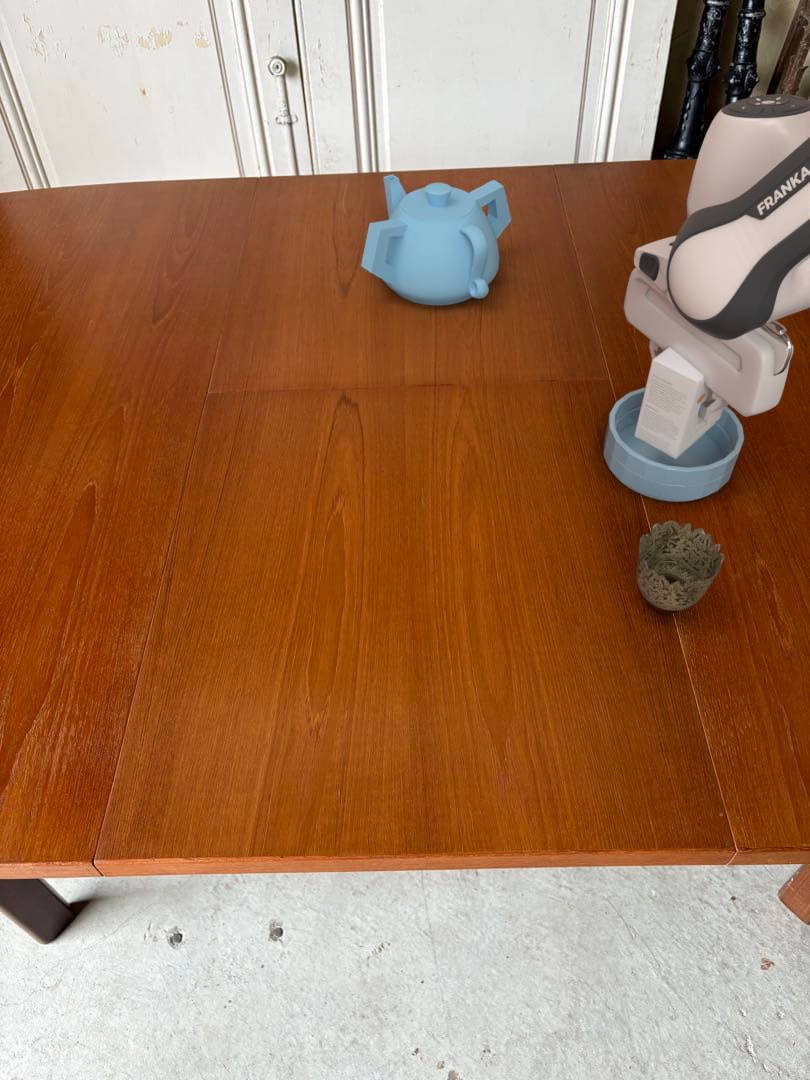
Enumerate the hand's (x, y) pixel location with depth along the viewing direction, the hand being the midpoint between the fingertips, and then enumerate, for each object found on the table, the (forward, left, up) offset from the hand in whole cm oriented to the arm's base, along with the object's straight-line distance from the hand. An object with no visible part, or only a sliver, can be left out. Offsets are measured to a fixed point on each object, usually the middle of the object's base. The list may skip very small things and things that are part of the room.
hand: (683, 397), depth 87 cm
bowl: (0, 0, -9) cm, 9 cm away
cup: (-16, +13, -9) cm, 23 cm away
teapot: (+48, +5, -9) cm, 49 cm away
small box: (0, 0, -5) cm, 5 cm away
